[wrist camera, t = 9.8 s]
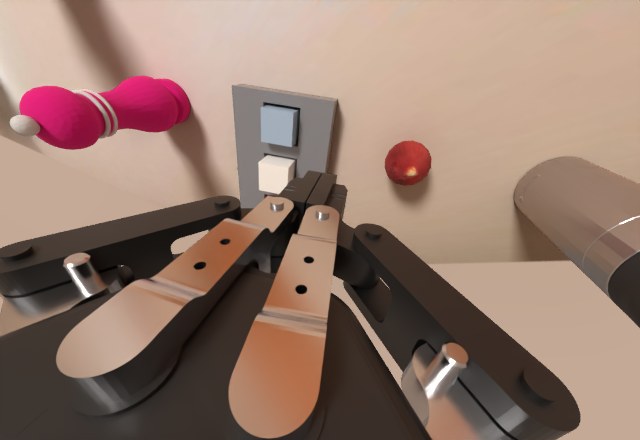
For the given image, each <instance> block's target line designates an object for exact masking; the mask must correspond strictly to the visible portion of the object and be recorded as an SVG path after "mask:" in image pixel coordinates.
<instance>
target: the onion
mask: <svg viewBox="0 0 640 440" xmlns="http://www.w3.org/2000/svg"><path fill="white" fill-rule="evenodd" d="M430 168H431V156H430V153H429V151H428V149H427V148H425V147H424V146H423V145H422V144H421V143H418V142H415V141H403V142H401V143H399V144H396V145H395V146H394V147H393V148H392V149H391V150H390V151H389V153H388V155H387V157H386V159H385V170H386V172H387V175H388V177H389V178H390V179H391V180H392V181H393V182H395V183H396V184H400V185H413V184H416V183H418V182H420V181H421V180H422V179H423V178H424V177H426V175H427V173H428V172H429V170H430Z"/></svg>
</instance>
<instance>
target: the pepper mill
mask: <svg viewBox="0 0 640 440" xmlns="http://www.w3.org/2000/svg"><path fill="white" fill-rule="evenodd" d="M20 113H21V115H17V116H14V117H12V118H11V120H10V126H11V127H12V129H13V130H15V131H16V132H17V133H19V134H22V135H26V136H33V135H36V136H37V137H39V138H40V139H42V140H43V141H45V142H46V143H48V144H50V145H53V146H55V147H58V148H63V149H72V150H74V149H83V148H87V147H89V146H91V145H93V144H94V143H96V141H97V140H98V138H105V137H109V136H112V135H114V134H115V133H116V131H117V130H118V129H126V128H128V129H137V130H141V131H146V132H162V131H166V130H169V129H170V128H172V127H173V125H174V124H178V123H181V122H184V121H185V120H186V119H187V118H188V116H189V113H190V104H189V100H188V98H187V96H186V94H185V92H184V91H183V89H182V88H181V87H180V86H179V85H178V84H176V83H175V82H173V81H171V80H169V79H153V78H151V77H148V76H135V77H131V78H128V79H126V80H124V81H123V82H121V83H120V84H119V85H118V86H117V87H116V88H114V89H113V90H111V91H107V92H103V93H96V92H94V91H91V90H87V89H82V90H72V91H69V90H67V89H64V88H61V87H57V86H42V87H37V88H33V89H31V90H30V91H28V92H26V93H25V94H24V95H23V96H22V99H21V101H20Z"/></svg>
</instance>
